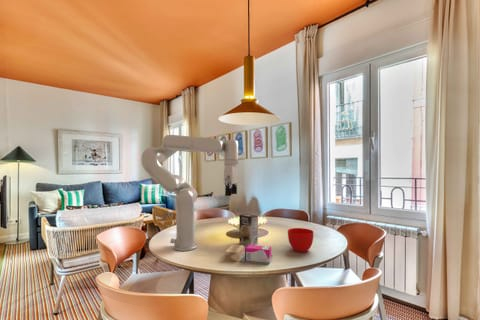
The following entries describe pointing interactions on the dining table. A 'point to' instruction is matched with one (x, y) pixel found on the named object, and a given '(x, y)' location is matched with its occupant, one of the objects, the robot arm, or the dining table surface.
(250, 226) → the coffee box
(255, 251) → the supplement box
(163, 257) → the dining table surface
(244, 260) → the mat
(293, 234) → the ceramic cup
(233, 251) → the ledge
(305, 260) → the dining table surface
